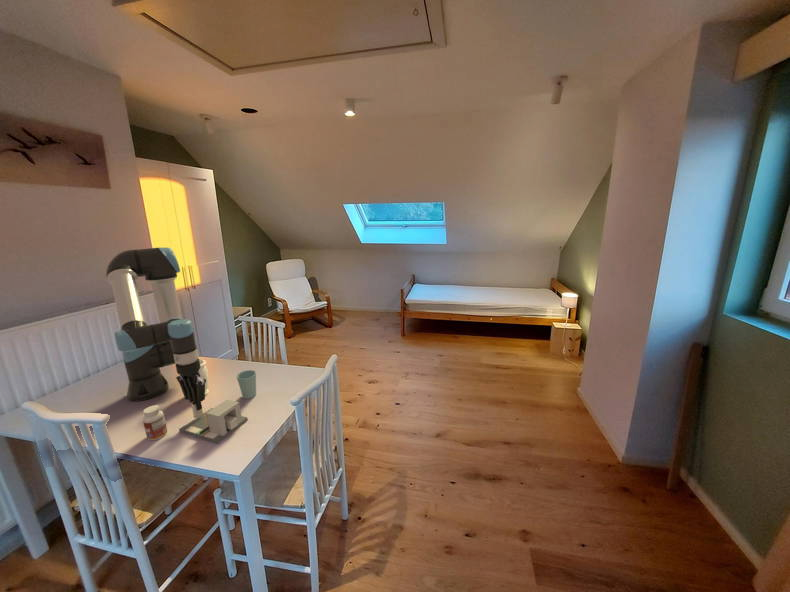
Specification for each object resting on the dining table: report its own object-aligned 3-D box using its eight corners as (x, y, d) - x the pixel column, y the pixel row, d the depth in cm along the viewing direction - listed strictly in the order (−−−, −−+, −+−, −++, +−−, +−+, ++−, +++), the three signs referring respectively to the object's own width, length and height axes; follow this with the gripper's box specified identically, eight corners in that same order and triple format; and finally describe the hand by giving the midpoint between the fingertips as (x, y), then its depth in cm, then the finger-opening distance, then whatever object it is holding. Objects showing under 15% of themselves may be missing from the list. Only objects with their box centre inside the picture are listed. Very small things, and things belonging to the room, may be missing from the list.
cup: (259, 397, 141) (255, 376, 139) (239, 402, 138) (236, 380, 136) (258, 389, 148) (255, 368, 145) (240, 393, 145) (236, 372, 142)
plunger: (198, 434, 116) (195, 420, 115) (221, 418, 125) (219, 404, 124) (218, 440, 112) (215, 426, 111) (241, 423, 121) (239, 409, 120)
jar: (183, 403, 138) (176, 372, 134) (185, 392, 147) (179, 362, 143) (211, 396, 143) (205, 366, 139) (211, 386, 152) (206, 357, 148)
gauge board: (179, 431, 120) (174, 409, 118) (212, 410, 133) (208, 390, 130) (217, 443, 113) (212, 420, 111) (247, 420, 126) (244, 398, 124)
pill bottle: (145, 436, 118) (138, 409, 115) (164, 427, 123) (158, 401, 120) (150, 443, 114) (143, 416, 112) (170, 434, 119) (163, 408, 116)
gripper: (165, 362, 118) (177, 418, 124) (190, 368, 114) (202, 425, 120) (184, 354, 125) (195, 407, 131) (209, 359, 121) (219, 413, 127)
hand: (198, 416), depth 126 cm, fingers closed
